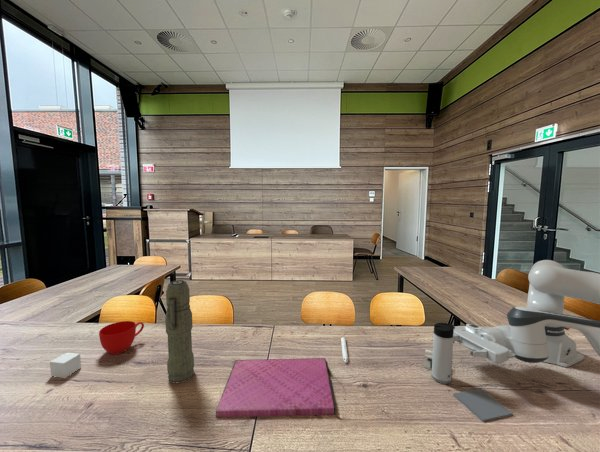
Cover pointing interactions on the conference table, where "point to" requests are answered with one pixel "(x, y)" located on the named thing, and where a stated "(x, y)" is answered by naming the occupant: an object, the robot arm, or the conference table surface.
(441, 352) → the travel mug
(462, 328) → the robot arm
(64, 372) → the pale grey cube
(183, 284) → the thermos
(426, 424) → the conference table surface
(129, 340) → the ceramic cup
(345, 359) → the marker
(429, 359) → the lettered cube
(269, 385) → the laptop bag
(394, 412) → the conference table surface
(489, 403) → the slate pad
